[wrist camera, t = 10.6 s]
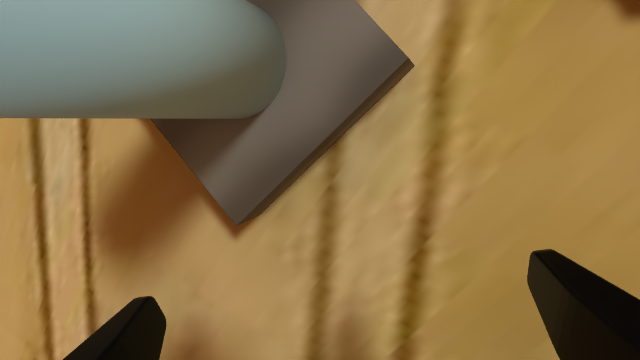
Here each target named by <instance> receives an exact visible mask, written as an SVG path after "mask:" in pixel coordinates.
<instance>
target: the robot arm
mask: <svg viewBox="0 0 640 360" xmlns="http://www.w3.org/2000/svg"><path fill="white" fill-rule="evenodd" d="M527 281H528V286H529V289H530V291H531V294H532V296H533V298H534V301H535V303H536V306H537V308H538V310H539V313H540V315H541V318H542V320H543V322H544V325H545V327H546V329H547V332H548V334H549V337H550V339H551V341H552V344H553V346H554V348H555V350H556V353H557V355H558V356H559V358H560V360H640V300H639V299H638V298H636V297H634V296H633V295H631V294H629V293H627V292H626V291H624V290H622V289H620V288H619V287H617V286H615V285H614V284H612V283H610V282H608V281H607V280H605V279H603V278H601V277H600V276H598V275H596V274H594V273H593V272H591V271H589V270H588V269H586V268H584V267H582V266H581V265H579V264H577V263H575V262H574V261H572V260H570V259H569V258H567V257H565V256H563V255H562V254H560V253H558V252H556V251H554V250H552V249H545V250H537V251H533V252H532V253H531V255H530V260H529V268H528V275H527ZM165 331H166V318H165V316H164V314H163V312H162V310H161V309H160V307H159V305H158V303H157V302H156V300H155V299H154V298H153V297H152V296H146V297H138V298H135V299H133V300H132V301H131V302H130V303H128V304H127V305H126V306H125V307H124V308H123V309H121V310H120V311H119V312H118V313H117V314H116V315H114V316H113V317H112V318H111V319H110V320H109V321H107V322H106V323H105V324H104V325H103V326H101V327H100V328H99V329H98V330H97V331H96V332H94V333H93V334H92V335H91V336H90V337H89V338H87V339H86V340H85V341H84V342H83V343H82V344H80V345H79V346H78V347H77V348H76V349H75V350H73V351H72V352H71V353H70V354H69V355H67V356H66V357H65V358H64V359H63V360H159V358H160V354H161V349H162V344H163V340H164V335H165Z"/></svg>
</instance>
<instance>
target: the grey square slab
mask: <svg viewBox="0 0 640 360" xmlns="http://www.w3.org/2000/svg"><path fill="white" fill-rule="evenodd" d="M247 1H248V2H250V3H252V4H254V5H256V6H257V7H259V8H261V9H262V10H264V11H265V12H266V13H267V14H268V15H269V16H270V17H271V18H272V19H273V20H274V22H275V23H276V24H277V26H278V28H279V30H280V32H281V34H282V37H283V40H284V44H285V49H286V71H285V76H284V79H283V82H282V85H281V87H280V90H279V92H278V93H277V95H276V97H275V98H274V99H273V101H272V102H271V103H270V104H269V105H268V106H267V107H266V108H265V109H264V110H262V111H261V112H259V113H257V114H256V115H254V116H251V117H248V118H242V119H151V120H152V122H153V123H154V124H155V125H156V127H157V128H158V129H159V130H160V132H161V133H162V134H163V135H164V137H165V138H166V139H167V140H168V142H169V143H170V144H171V145H172V147H173V148H174V149H175V150H176V152H177V153H178V154H179V155H180V157H181V158H182V159H183V160H184V162H185V163H186V164H187V165H188V166H189V168H190V169H191V170H192V171H193V173H194V174H195V175H196V176H197V178H198V179H199V180H200V181H201V183H202V184H203V185H204V186H205V188H206V189H207V190H208V191H209V193H210V194H211V195H212V196H213V198H214V199H215V200H216V201H217V203H218V204H219V205H220V206H221V208H222V209H223V210H224V211H225V213H226V214H227V215H228V216H229V217H230V219H231V220H232V221H233V222H234V224H235V225H236V226H237V225H239V224H241V223H243V222H245V221H247V220H250V219H252V218H254V217H256V216H258V215H259V214H261V213H262V212H263V211H264V210H265V209H266V208H267V207H268V206H269V205H270V204H271V203H272V202H273V201H274V200H275V199H276V198H277V197H278V196H279V195H280V194H281V193H282V192H283V191H284V190H286V189H287V188H288V187H289V186H290V185H291V184H292V183H293V182H294V181H295V180H296V179H297V178H298V177H299V176H300V175H301V174H302V173H303V172H304V171H305V170H306V169H307V168H308V167H309V166H311V165H312V164H313V163H314V162H315V161H316V160H317V159H318V158H319V157H320V156H321V155H322V154H323V153H324V152H325V151H326V150H327V149H328V148H329V147H330V146H331V145H332V144H333V143H335V142H336V141H337V140H338V139H339V138H340V137H341V136H342V135H343V134H344V133H345V132H346V131H347V130H348V129H349V128H350V127H351V126H352V125H353V124H354V123H355V122H356V121H357V120H358V119H360V118H361V117H362V116H363V115H364V114H365V113H366V112H367V111H368V110H369V109H370V108H371V107H372V106H373V105H374V104H375V103H376V102H377V101H378V100H379V99H380V98H381V97H382V96H383V95H385V94H386V93H387V92H388V91H389V90H390V89H391V88H392V87H393V86H394V85H395V84H396V83H397V82H398V81H399V80H400V79H401V78H402V77H403V76H404V75H405V74H406V73H407V72H409V71H410V70H411V69H412V68H413V67H414V64H413V63H412V62H411V61H410V59H409V58H408V57H407V56H406V55H405V54H404V53H403V51H402V50H401V49H400V48H399V47H398V46H397V45H396V44H395V43H394V42H393V41H392V40H391V39H390V38H389V36H388V35H387V34H386V33H385V32H384V31H383V30H382V29H381V28H380V27H379V26H378V25H377V24H376V22H375V21H374V20H373V19H372V18H371V17H370V16H369V15H368V14H367V13H366V12H365V11H364V10H363V9H362V7H361V6H360V5H359V4H358V3H357V2H356V1H355V0H247Z"/></svg>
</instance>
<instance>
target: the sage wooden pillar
mask: <svg viewBox="0 0 640 360" xmlns="http://www.w3.org/2000/svg"><path fill="white" fill-rule="evenodd" d="M285 71H286V49H285V44H284V40H283V37H282V34H281V32H280V30H279V28H278V26H277V24H276V23H275V22H274V20H273V19H272V18H271V17H270V16H269V15H268V14H267V13H266V12H265V11H264V10H262V9H261V8H259V7H257V6H256V5H254V4H252V3H250V2H248V1H247V0H0V118H145V119H242V118H248V117H251V116H254V115H256V114H257V113H259V112H261V111H262V110H264V109H265V108H266V107H267V106H268V105H269V104H270V103H271V102H272V101H273V99H274V98H275V97H276V95H277V93H278V92H279V90H280V87H281V85H282V82H283V79H284V76H285Z"/></svg>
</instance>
